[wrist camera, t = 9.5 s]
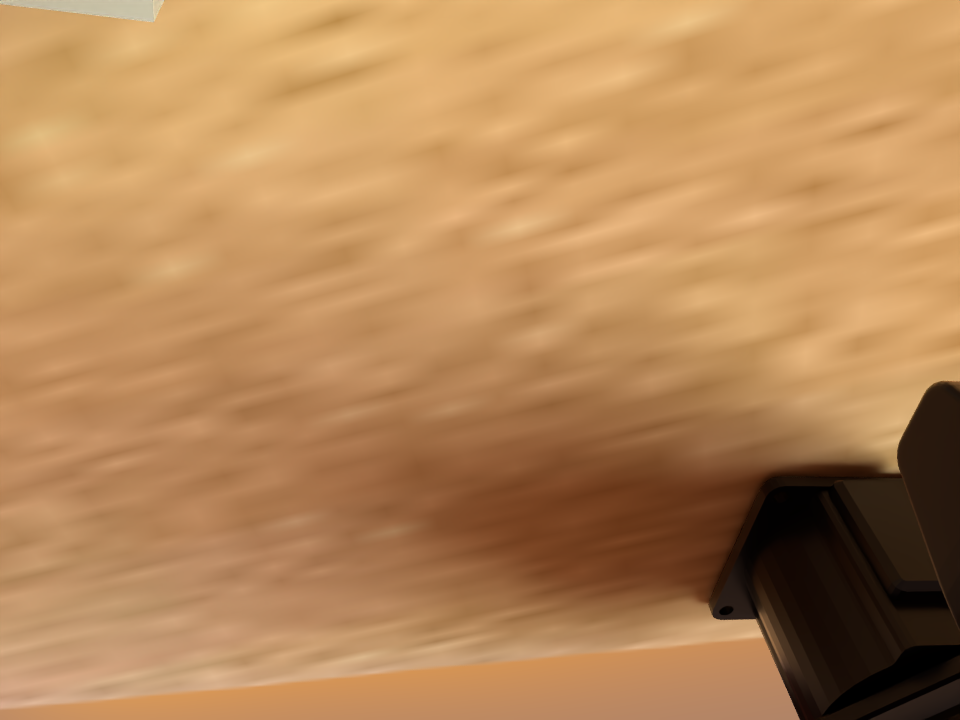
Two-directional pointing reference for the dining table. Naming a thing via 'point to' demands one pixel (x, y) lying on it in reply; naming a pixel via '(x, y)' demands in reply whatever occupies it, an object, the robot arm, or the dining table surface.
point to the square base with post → (98, 7)
